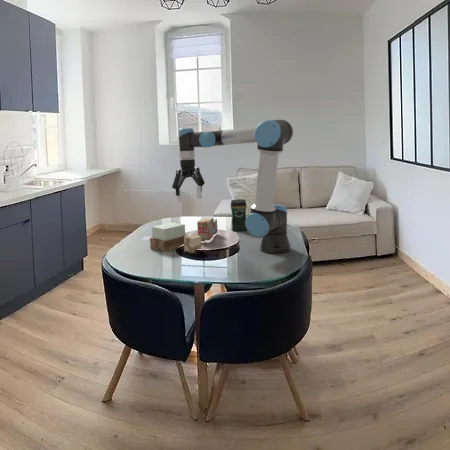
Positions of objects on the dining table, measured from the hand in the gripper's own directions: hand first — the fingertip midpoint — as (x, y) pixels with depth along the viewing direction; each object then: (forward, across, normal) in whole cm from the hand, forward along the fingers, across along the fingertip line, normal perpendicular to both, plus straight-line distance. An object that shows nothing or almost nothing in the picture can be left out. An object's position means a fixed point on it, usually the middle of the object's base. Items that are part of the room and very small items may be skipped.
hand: (189, 200), depth 260 cm
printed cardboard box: (+25, -16, -5) cm, 30 cm away
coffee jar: (+25, -43, -7) cm, 50 cm away
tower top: (+19, +9, -8) cm, 22 cm away
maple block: (+25, +7, +9) cm, 27 cm away
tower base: (+25, +9, -8) cm, 28 cm away
